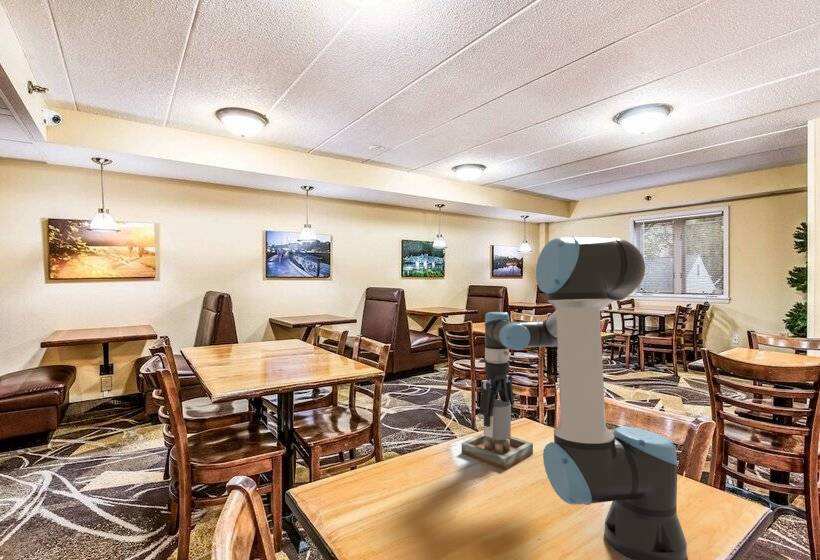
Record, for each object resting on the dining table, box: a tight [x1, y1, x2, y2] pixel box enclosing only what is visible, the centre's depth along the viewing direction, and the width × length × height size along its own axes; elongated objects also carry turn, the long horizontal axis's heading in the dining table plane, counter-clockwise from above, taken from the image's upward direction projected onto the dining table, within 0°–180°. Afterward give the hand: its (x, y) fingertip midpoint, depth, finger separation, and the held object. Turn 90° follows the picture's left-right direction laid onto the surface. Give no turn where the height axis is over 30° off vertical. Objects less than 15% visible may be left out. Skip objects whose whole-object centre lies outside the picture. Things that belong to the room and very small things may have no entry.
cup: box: [483, 399, 512, 440], centre depth 132 cm, size 8×8×10 cm
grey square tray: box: [461, 432, 534, 471], centre depth 132 cm, size 16×16×4 cm
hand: (497, 432), depth 132 cm, fingers closed on cup, 8 cm apart
